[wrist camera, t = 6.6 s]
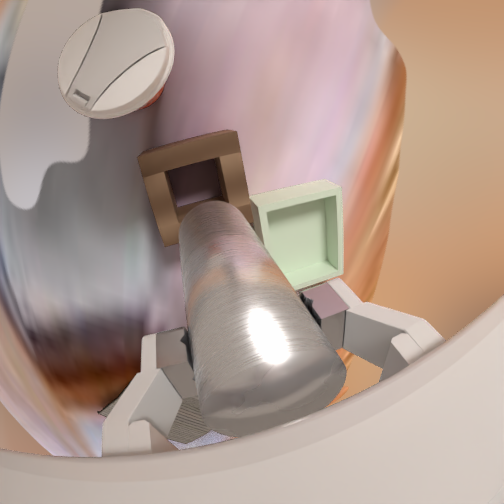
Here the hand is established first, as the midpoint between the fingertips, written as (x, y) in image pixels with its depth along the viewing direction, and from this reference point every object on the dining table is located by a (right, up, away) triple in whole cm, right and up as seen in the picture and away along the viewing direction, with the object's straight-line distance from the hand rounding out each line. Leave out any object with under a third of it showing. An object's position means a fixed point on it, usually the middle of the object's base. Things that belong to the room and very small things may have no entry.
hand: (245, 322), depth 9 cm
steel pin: (-2, +3, +7) cm, 8 cm away
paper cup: (-11, +20, +14) cm, 27 cm away
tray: (+6, +5, +26) cm, 27 cm away
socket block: (-6, +10, +20) cm, 23 cm away
